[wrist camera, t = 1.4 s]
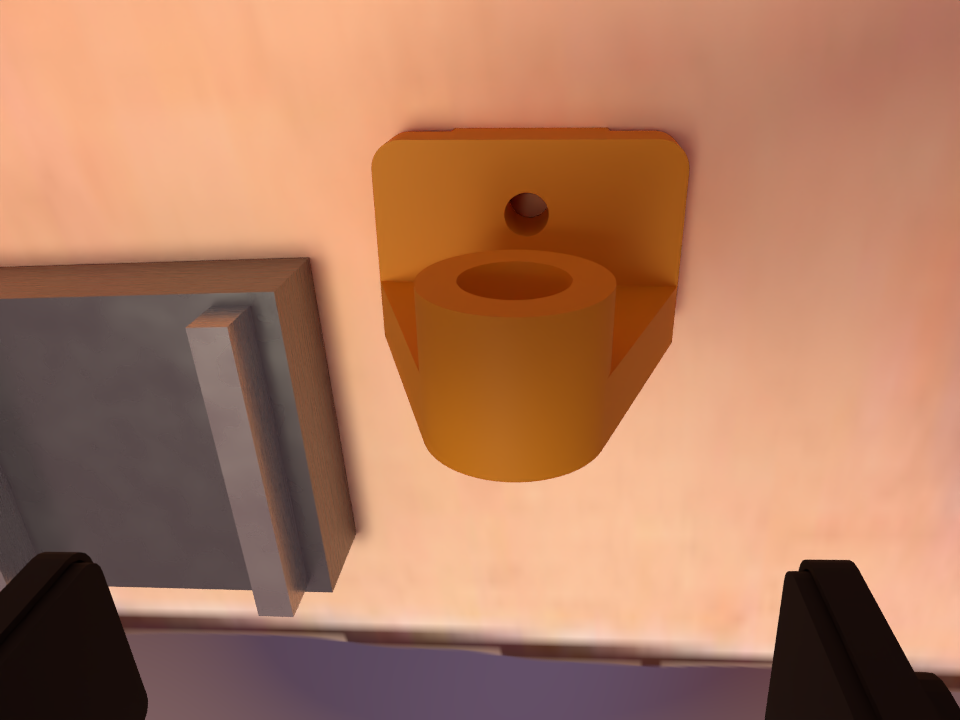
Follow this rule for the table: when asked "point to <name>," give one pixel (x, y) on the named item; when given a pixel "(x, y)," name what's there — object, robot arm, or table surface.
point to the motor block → (172, 427)
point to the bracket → (527, 287)
